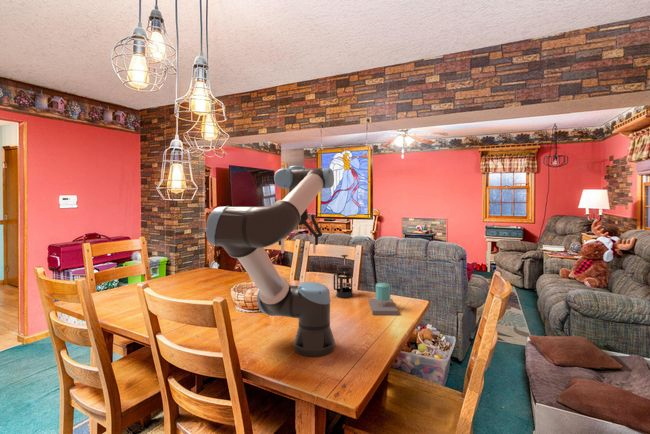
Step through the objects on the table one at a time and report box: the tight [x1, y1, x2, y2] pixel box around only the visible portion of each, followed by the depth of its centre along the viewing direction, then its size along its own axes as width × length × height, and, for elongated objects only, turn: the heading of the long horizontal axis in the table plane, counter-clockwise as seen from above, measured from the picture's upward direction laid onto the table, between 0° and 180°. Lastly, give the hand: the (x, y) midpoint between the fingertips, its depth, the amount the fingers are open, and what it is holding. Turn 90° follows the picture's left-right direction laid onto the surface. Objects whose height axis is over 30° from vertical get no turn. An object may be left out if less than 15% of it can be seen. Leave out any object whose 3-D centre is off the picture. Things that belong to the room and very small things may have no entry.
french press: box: [333, 254, 354, 299], centre depth 182 cm, size 12×9×23 cm
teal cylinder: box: [375, 282, 391, 301], centre depth 161 cm, size 7×7×7 cm
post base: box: [368, 298, 399, 316], centre depth 162 cm, size 18×12×11 cm, turn 178°
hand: (298, 252), depth 139 cm, fingers open, 13 cm apart
